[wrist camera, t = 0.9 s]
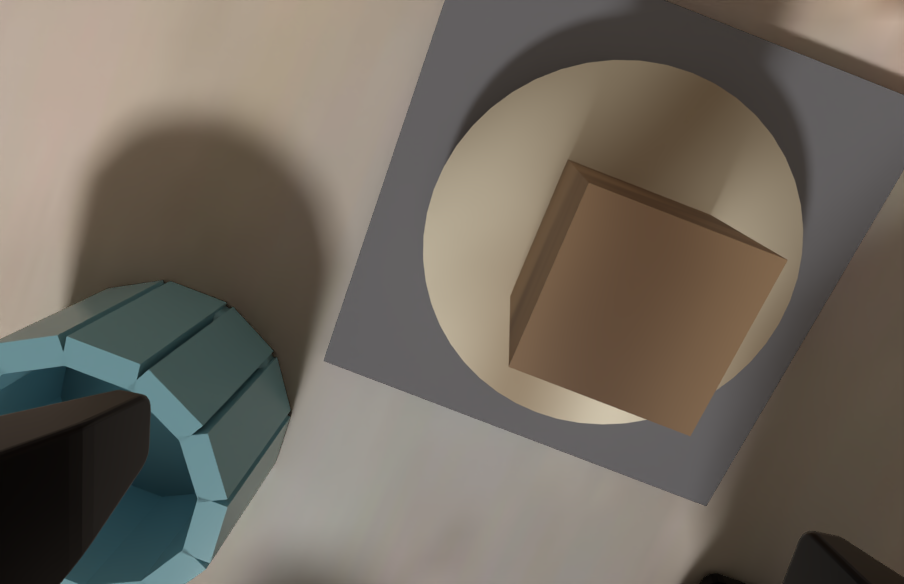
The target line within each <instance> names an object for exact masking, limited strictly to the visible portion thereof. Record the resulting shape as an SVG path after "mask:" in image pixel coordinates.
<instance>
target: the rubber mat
mask: <svg viewBox="0 0 904 584" xmlns="http://www.w3.org/2000/svg"><path fill="white" fill-rule="evenodd" d="M608 60H638V61H646V62H652V63H658V64H664V65H669V66H672V67H675V68H678V69H681V70H685V71H688V72H691V73H694V74H696V75H698V76H700V77H702V78H704V79H706V80H708V81H710V82H712V83H714V84H716V85H718V86H719V87H721V88H722V89H724V90H725V91H727V92H728V93H730V94H731V95H733V96H734V97H736V98H737V99H738V100H739V101H741V102H742V103H743V104H744V105H745V106H746V107H747V108H748V109H749V110H750V111H752V112H753V113H754V114H755V115H756V116H757V117H758V118H759V120H760V121H761V122H762V123H763V125H764V126H765V127H766V128H767V129H768V131H769V132H770V133H771V134H772V136H773V137H774V139H775V141H776V142H777V144H778V146H779V147H780V149H781V151H782V152H783V154H784V156H785V157H786V160H787V162H788V165H789V167H790V170H791V172H792V175H793V177H794V179H795V183H796V187H797V191H798V195H799V199H800V203H801V211H802V222H803V245H802V257H801V262H800V268H799V273H798V278H797V281H796V284H795V287H794V290H793V293H792V296H791V299H790V302H789V304H788V306H787V308H786V310H785V312H784V314H783V317H782V319H781V321H780V323H779V324H778V326H777V327H776V329H775V331H774V332H773V334H772V335H771V337H770V338H769V340H768V341H767V343H766V344H765V345H764V346H763V348H762V349H761V350H760V351H759V352H758V354H757V355H756V356H755V357H754V358H753V359H752V361H751V362H750V363H749V364H748V365H747V366H746V367H744V368H743V369H742V370H741V371H740V372H739V373H738V374H737V375H736V376H735V377H734V378H732V379H731V380H730V381H728V382H727V383H726V384H724V385H723V386H721V387H720V388H719V389H717V390H716V391H715V393H714V395H713V396H712V398H711V400H710V402H709V404H708V405H707V407H706V409H705V411H704V413H703V414H702V416H701V418H700V420H699V422H698V424H697V425H696V427H695V429H694V431H693V433H692V434H691V436H688V435H685V434H683V433H680V432H678V431H675V430H672V429H670V428H667V427H665V426H662V425H659V424H657V423H654V422H651V421H649V420H642V421H636V422H630V423H622V424H588V423H577V422H572V421H567V420H561V419H556V418H553V417H550V416H547V415H544V414H541V413H537V412H535V411H532V410H530V409H528V408H526V407H524V406H521V405H519V404H517V403H515V402H513V401H512V400H510V399H508V398H507V397H505V396H503V395H502V394H500V393H499V392H497V391H496V390H494V389H493V388H492V387H491V386H489V385H488V384H487V383H485V382H484V381H483V380H482V379H480V378H479V377H478V376H477V375H476V374H475V373H474V372H473V371H472V370H471V369H470V368H469V367H468V365H467V364H466V363H465V362H464V361H463V360H462V359H461V357H460V356H459V355H458V353H457V352H456V351H455V349H454V348H453V347H452V345H451V344H450V342H449V340H448V339H447V337H446V335H445V333H444V332H443V330H442V328H441V326H440V324H439V322H438V319H437V317H436V314H435V312H434V309H433V307H432V304H431V301H430V297H429V293H428V289H427V285H426V280H425V271H424V263H423V236H424V230H425V223H426V216H427V211H428V208H429V204H430V201H431V197H432V194H433V190H434V188H435V186H436V183H437V181H438V179H439V176H440V174H441V172H442V170H443V167H444V166H445V164H446V162H447V161H448V159H449V157H450V156H451V154H452V152H453V151H454V149H455V147H456V146H457V145H458V143H459V142H460V141H461V139H462V138H463V137H464V136H465V134H466V133H467V132H468V131H469V129H470V128H471V127H472V126H473V125H474V124H475V123H476V122H477V121H478V120H479V119H480V118H481V117H482V116H483V115H484V114H485V113H486V112H487V111H488V110H489V109H490V108H492V107H493V106H494V105H496V104H497V103H498V102H500V101H501V100H502V99H504V98H505V97H506V96H508V95H509V94H510V93H512V92H513V91H515V90H517V89H519V88H521V87H522V86H524V85H526V84H528V83H530V82H531V81H533V80H535V79H537V78H540V77H542V76H545V75H548V74H550V73H553V72H555V71H558V70H560V69H564V68H568V67H572V66H576V65H580V64H584V63H590V62H599V61H608ZM903 170H904V95H903V94H900V93H898V92H895V91H893V90H890V89H888V88H885V87H882V86H880V85H877V84H875V83H872V82H870V81H867V80H865V79H862V78H860V77H857V76H855V75H852V74H850V73H847V72H845V71H842V70H840V69H837V68H835V67H832V66H829V65H827V64H824V63H822V62H819V61H817V60H814V59H812V58H809V57H807V56H804V55H802V54H799V53H797V52H794V51H792V50H789V49H787V48H784V47H782V46H779V45H776V44H774V43H771V42H769V41H766V40H764V39H761V38H759V37H756V36H754V35H751V34H749V33H746V32H744V31H741V30H739V29H736V28H734V27H731V26H729V25H726V24H723V23H721V22H718V21H716V20H713V19H711V18H708V17H706V16H703V15H701V14H698V13H696V12H693V11H691V10H688V9H686V8H683V7H681V6H678V5H675V4H673V3H670V2H668V1H665V0H445V2H444V5H443V8H442V11H441V13H440V16H439V19H438V22H437V25H436V28H435V31H434V34H433V37H432V40H431V43H430V46H429V49H428V52H427V55H426V58H425V61H424V64H423V67H422V70H421V73H420V76H419V79H418V82H417V85H416V88H415V91H414V94H413V97H412V100H411V103H410V106H409V109H408V111H407V114H406V117H405V120H404V123H403V126H402V129H401V132H400V135H399V138H398V141H397V144H396V147H395V150H394V153H393V156H392V159H391V162H390V165H389V168H388V171H387V174H386V177H385V180H384V183H383V186H382V189H381V192H380V195H379V198H378V201H377V204H376V207H375V210H374V212H373V215H372V218H371V221H370V224H369V227H368V230H367V233H366V236H365V239H364V242H363V245H362V248H361V251H360V254H359V257H358V260H357V263H356V266H355V269H354V272H353V275H352V278H351V281H350V284H349V287H348V290H347V293H346V296H345V299H344V302H343V305H342V308H341V311H340V313H339V316H338V319H337V322H336V325H335V328H334V331H333V334H332V337H331V340H330V343H329V346H328V349H327V352H326V355H325V358H324V361H325V362H328V363H331V364H333V365H336V366H339V367H341V368H344V369H346V370H349V371H352V372H354V373H357V374H360V375H362V376H365V377H368V378H370V379H373V380H375V381H378V382H381V383H383V384H386V385H389V386H391V387H394V388H396V389H399V390H402V391H404V392H407V393H410V394H412V395H415V396H418V397H420V398H423V399H425V400H428V401H431V402H433V403H436V404H439V405H441V406H444V407H446V408H449V409H452V410H454V411H457V412H460V413H462V414H465V415H468V416H470V417H473V418H475V419H478V420H481V421H483V422H486V423H489V424H491V425H494V426H496V427H499V428H502V429H504V430H507V431H510V432H512V433H515V434H517V435H520V436H523V437H525V438H528V439H531V440H533V441H536V442H539V443H541V444H544V445H546V446H549V447H552V448H554V449H557V450H560V451H562V452H565V453H567V454H570V455H573V456H575V457H578V458H581V459H583V460H586V461H589V462H591V463H594V464H596V465H599V466H602V467H604V468H607V469H610V470H612V471H615V472H617V473H620V474H623V475H625V476H628V477H631V478H633V479H636V480H639V481H641V482H644V483H646V484H649V485H652V486H654V487H657V488H660V489H662V490H665V491H667V492H670V493H673V494H675V495H678V496H681V497H683V498H686V499H688V500H691V501H694V502H696V503H699V504H702V505H704V506H707V504H708V502H709V501H710V499H711V497H712V495H713V494H714V492H715V490H716V489H717V487H718V485H719V484H720V482H721V480H722V478H723V477H724V475H725V473H726V472H727V470H728V468H729V467H730V465H731V463H732V461H733V460H734V458H735V456H736V455H737V453H738V451H739V449H740V448H741V446H742V444H743V443H744V441H745V439H746V438H747V436H748V434H749V432H750V431H751V429H752V427H753V426H754V424H755V422H756V421H757V419H758V417H759V415H760V414H761V412H762V410H763V409H764V407H765V405H766V403H767V402H768V400H769V398H770V397H771V395H772V393H773V392H774V390H775V388H776V386H777V385H778V383H779V381H780V380H781V378H782V376H783V375H784V373H785V371H786V369H787V368H788V366H789V364H790V363H791V361H792V359H793V357H794V356H795V354H796V352H797V351H798V349H799V347H800V346H801V344H802V342H803V340H804V339H805V337H806V335H807V334H808V332H809V330H810V329H811V327H812V325H813V323H814V322H815V320H816V318H817V317H818V315H819V313H820V311H821V310H822V308H823V306H824V305H825V303H826V301H827V300H828V298H829V296H830V294H831V293H832V291H833V289H834V288H835V286H836V284H837V283H838V281H839V279H840V277H841V276H842V274H843V272H844V271H845V269H846V267H847V266H848V264H849V262H850V260H851V259H852V257H853V255H854V254H855V252H856V250H857V248H858V247H859V245H860V243H861V242H862V240H863V238H864V237H865V235H866V233H867V231H868V230H869V228H870V226H871V225H872V223H873V221H874V220H875V218H876V216H877V214H878V213H879V211H880V209H881V208H882V206H883V204H884V202H885V201H886V199H887V197H888V196H889V194H890V192H891V191H892V189H893V187H894V185H895V184H896V182H897V180H898V179H899V177H900V175H901V174H902V172H903Z"/></svg>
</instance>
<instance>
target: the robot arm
mask: <svg viewBox="0 0 904 584" xmlns="http://www.w3.org/2000/svg"><path fill="white" fill-rule="evenodd" d="M150 418H151V404H150V400H149V399H148V397H147V396H146V395H143V394H139V393H134V392H129V391H124V390H114V391H110V392H105V393H101V394H96V395H92V396H87V397H83V398H78V399H73V400H69V401H64V402H60V403H55V404H51V405H46V406H42V407H37V408H33V409H28V410H24V411H19V412H14V413H10V414H5V415H1V416H0V584H60V583H61V582H62V581H63V580H64V579H65V577H66V576H67V575H68V574H69V573H70V571H71V570H72V569H73V568H74V566H75V565H76V564H77V563H78V561H79V560H80V559H81V557H82V556H83V555H84V553H85V552H86V551H87V549H88V548H89V546H90V545H91V544H92V542H93V541H94V539H95V538H96V536H97V535H98V533H99V532H100V530H101V529H102V527H103V526H104V524H105V523H106V521H107V520H108V518H109V517H110V515H111V514H112V512H113V511H114V509H115V508H116V506H117V505H118V503H119V502H120V500H121V499H122V497H123V496H124V494H125V493H126V491H127V490H128V488H129V487H130V485H131V484H132V482H133V481H134V479H135V478H136V476H137V475H138V473H139V472H140V470H141V469H142V467H143V466H144V464H145V462H146V459H147V456H148V452H149V443H150ZM699 584H745V583H742V582H740V581H737V580H734V579H732V578H729V577H727V576H724V575H721V574H710V575H707V576H705V577H704V578H703V579H702V580H701V581H700V583H699ZM783 584H904V577H902V576H901V575H899V574H897V573H896V572H894V571H893V570H891V569H890V568H888V567H887V566H885V565H883V564H882V563H880V562H879V561H877V560H876V559H874V558H873V557H871V556H870V555H868V554H866V553H865V552H863V551H862V550H860V549H859V548H857V547H856V546H854V545H852V544H851V543H849V542H848V541H846V540H845V539H843V538H841V537H839V536H835V535H831V534H826V533H821V532H816V531H808V532H806V533H804V534H803V535H802V536H801V538H800V540H799V542H798V545H797V547H796V550H795V552H794V555H793V558H792V560H791V563H790V566H789V568H788V571H787V573H786V576H785V579H784V582H783Z"/></svg>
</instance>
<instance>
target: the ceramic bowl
mask: <svg viewBox="0 0 904 584" xmlns="http://www.w3.org/2000/svg"><path fill="white" fill-rule="evenodd" d="M226 303H227V302H224V301H221V300H219V299H216V298H214V297H211V296H208V295H206V294H203V293H200V292H198V291H195V290H193V289H190V288H187V287H185V286H182V285H179V284H177V283H174V282H172V281H169V282H167V283H166V284H164V282H163V280H161V281H154V282H147V283H140V284H134V285H127V286H120V287H113V288H108V289H106V290H103V291H101V292H99V293H97V294H95V295H93V296H91V297H89V298H86V299H84V300H82V301H80V302H78V303H76V304H74V305H72V306H69V307H67V308H65V309H63V310H61V311H59V312H57V313H55V314H52V315H50V316H48V317H46V318H44V319H42V320H40V321H38V322H35V323H33V324H31V325H29V326H27V327H25V328H23V329H21V330H18V331H16V332H14V333H12V334H10V335H8V336H6V337H3V338H1V339H0V416H1V415H5V414H10V413H14V412H19V411H24V410H28V409H33V408H37V407H42V406H46V405H51V404H55V403H60V402H64V401H69V400H73V399H78V398H83V397H87V396H92V395H96V394H101V393H105V392H110V391H114V390H124V391H129V392H134V393H139V394H143V395H146V396H147V397H148V399H149V400H150V404H151V418H150V443H149V452H148V456H147V459H146V462H145V464H144V466H143V467H142V469H141V470H140V472H139V473H138V475H137V476H136V478H135V479H134V481H133V482H132V484H131V485H130V487H129V488H128V490H127V491H126V493H125V494H124V496H123V497H122V499H121V500H120V502H119V503H118V505H117V506H116V508H115V509H114V511H113V512H112V514H111V515H110V517H109V518H108V520H107V521H106V523H105V524H104V526H103V527H102V529H101V530H100V532H99V533H98V535H97V536H96V538H95V539H94V541H93V542H92V544H91V545H90V546H89V548H88V549H87V551H86V552H85V553H84V555H83V556H82V557H81V559H80V560H79V561H78V563H77V564H76V565H75V566H74V568H73V569H72V570H71V571H70V573H69V574H68V575H67V576H66V577H65V579H64V580H63V581H62V582H61V583H60V584H186V583H187V582H189V581H190V580H191V579H193V578H194V577H196V576H197V575H198V574H200V573H201V572H203V571H204V570H205V569H206V568H207V567H208V565H209V564H210V563H211V561H212V560H213V558H214V557H215V555H216V554H217V552H218V550H219V549H220V547H221V546H222V544H223V543H224V541H225V540H226V538H227V537H228V535H229V534H230V532H231V530H232V529H233V527H234V526H235V524H236V523H237V521H238V520H239V518H240V517H241V515H242V514H243V512H244V510H245V509H246V507H247V506H248V504H249V503H250V501H251V500H252V498H253V497H254V495H255V494H256V492H257V491H258V489H259V487H260V486H261V484H262V483H263V481H264V480H265V478H266V477H267V475H268V474H269V472H270V471H271V469H272V467H273V466H274V464H275V463H276V460H277V457H278V454H279V450H280V447H281V444H282V441H283V438H284V435H285V432H286V429H287V426H288V423H289V420H290V416H288V413H289V412H290V411H291V409H290V405H289V401H288V398H287V394H286V390H285V386H284V382H283V378H282V374H281V370H280V366H279V363H278V359H277V357H276V358H274V357H273V355H272V354H271V353H272V352H273V350H272V349H271V348H270V347H269V345H268V344H267V343H266V342H265V341H264V340H263V339H262V338H261V337H260V336H259V335H258V333H257V332H256V331H255V330H254V329H253V328H252V327H251V326H250V325H249V324H248V323H247V321H246V320H245V319H244V318H243V317H242V316H241V315H240V314H239V313H238V312H237V311H236V310H235V308H234V307H232V308H231V309H230V308H228V307H227V306H226Z"/></svg>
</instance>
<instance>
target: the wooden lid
mask: <svg viewBox="0 0 904 584" xmlns="http://www.w3.org/2000/svg"><path fill="white" fill-rule="evenodd" d="M802 245H803V222H802V211H801V203H800V199H799V195H798V191H797V187H796V183H795V179H794V177H793V175H792V172H791V170H790V167H789V165H788V162H787V160H786V157H785V156H784V154H783V152H782V151H781V149H780V147H779V146H778V144H777V142H776V141H775V139H774V137H773V136H772V134H771V133H770V132H769V131H768V129H767V128H766V127H765V126H764V125H763V123H762V122H761V121H760V120H759V118H758V117H757V116H756V115H755V114H754V113H753V112H752V111H750V110H749V109H748V108H747V107H746V106H745V105H744V104H743V103H742V102H741V101H739V100H738V99H737V98H736V97H734V96H733V95H731V94H730V93H728V92H727V91H725V90H724V89H722V88H721V87H719V86H718V85H716V84H714V83H712V82H710V81H708V80H706V79H704V78H702V77H700V76H698V75H696V74H694V73H691V72H688V71H685V70H681V69H678V68H675V67H672V66H669V65H664V64H658V63H652V62H646V61H638V60H608V61H599V62H590V63H584V64H580V65H576V66H572V67H568V68H564V69H560V70H558V71H555V72H553V73H550V74H548V75H545V76H542V77H540V78H537V79H535V80H533V81H531V82H530V83H528V84H526V85H524V86H522V87H521V88H519V89H517V90H515V91H513V92H512V93H510V94H509V95H508V96H506V97H505V98H504V99H502V100H501V101H500V102H498V103H497V104H496V105H494V106H493V107H492V108H490V109H489V110H488V111H487V112H486V113H485V114H484V115H483V116H482V117H481V118H480V119H479V120H478V121H477V122H476V123H475V124H474V125H473V126H472V127H471V128H470V129H469V131H468V132H467V133H466V134H465V136H464V137H463V138H462V139H461V141H460V142H459V143H458V145H457V146H456V147H455V149H454V151H453V152H452V154H451V156H450V157H449V159H448V161H447V162H446V164H445V166H444V167H443V170H442V172H441V174H440V176H439V179H438V181H437V183H436V186H435V188H434V190H433V194H432V197H431V201H430V204H429V208H428V211H427V216H426V223H425V230H424V236H423V263H424V271H425V280H426V285H427V289H428V293H429V297H430V301H431V304H432V307H433V309H434V312H435V314H436V317H437V319H438V322H439V324H440V326H441V328H442V330H443V332H444V333H445V335H446V337H447V339H448V340H449V342H450V344H451V345H452V347H453V348H454V349H455V351H456V352H457V353H458V355H459V356H460V357H461V359H462V360H463V361H464V362H465V363H466V364H467V365H468V367H469V368H470V369H471V370H472V371H473V372H474V373H475V374H476V375H477V376H478V377H479V378H480V379H482V380H483V381H484V382H485V383H487V384H488V385H489V386H491V387H492V388H493V389H494V390H496V391H497V392H499V393H500V394H502V395H503V396H505V397H507V398H508V399H510V400H512V401H513V402H515V403H517V404H519V405H521V406H524V407H526V408H528V409H530V410H532V411H535V412H537V413H541V414H544V415H547V416H550V417H553V418H556V419H561V420H567V421H572V422H577V423H588V424H622V423H630V422H636V421H642V420H649V421H651V422H654V423H657V424H659V425H662V426H665V427H667V428H670V429H672V430H675V431H678V432H680V433H683V434H685V435H688V436H691V434H692V433H693V431H694V429H695V427H696V425H697V424H698V422H699V420H700V418H701V416H702V414H703V413H704V411H705V409H706V407H707V405H708V404H709V402H710V400H711V398H712V396H713V395H714V393H715V391H716V390H717V389H719V388H720V387H721V386H723V385H724V384H726V383H727V382H728V381H730V380H731V379H732V378H734V377H735V376H736V375H737V374H738V373H739V372H740V371H741V370H742V369H743V368H744V367H746V366H747V365H748V364H749V363H750V362H751V361H752V359H753V358H754V357H755V356H756V355H757V354H758V352H759V351H760V350H761V349H762V348H763V346H764V345H765V344H766V343H767V341H768V340H769V338H770V337H771V335H772V334H773V332H774V331H775V329H776V327H777V326H778V324H779V323H780V321H781V319H782V317H783V314H784V312H785V310H786V308H787V306H788V304H789V302H790V299H791V296H792V293H793V290H794V287H795V284H796V281H797V278H798V273H799V268H800V262H801V257H802Z"/></svg>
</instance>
